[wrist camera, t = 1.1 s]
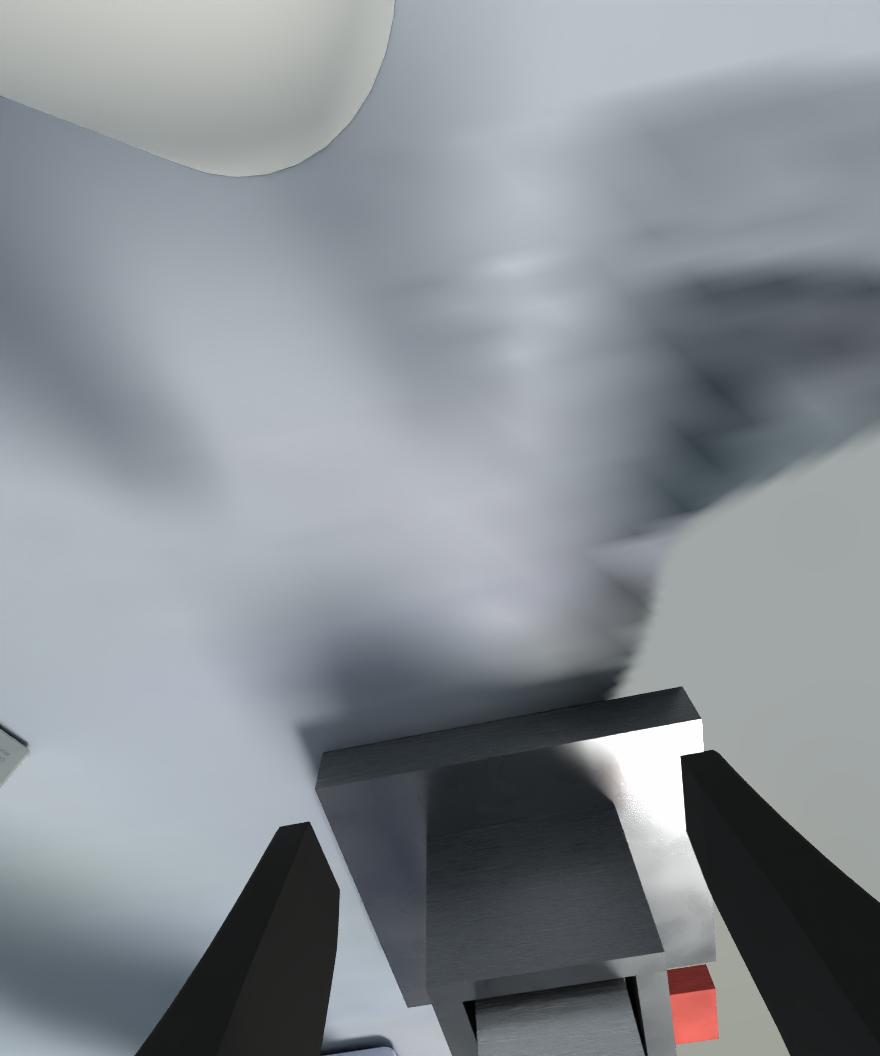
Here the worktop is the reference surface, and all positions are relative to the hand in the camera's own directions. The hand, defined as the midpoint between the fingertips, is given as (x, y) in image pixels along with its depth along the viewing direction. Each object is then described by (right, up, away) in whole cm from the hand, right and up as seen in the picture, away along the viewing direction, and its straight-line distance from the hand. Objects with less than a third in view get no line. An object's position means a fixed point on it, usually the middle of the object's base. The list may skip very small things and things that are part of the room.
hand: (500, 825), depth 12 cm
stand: (+2, -6, +11) cm, 12 cm away
